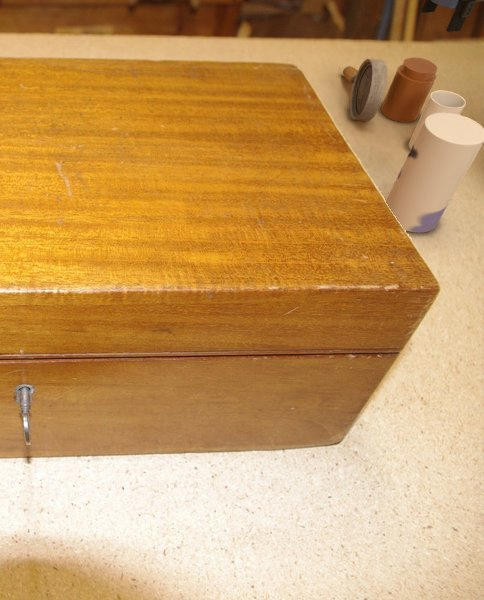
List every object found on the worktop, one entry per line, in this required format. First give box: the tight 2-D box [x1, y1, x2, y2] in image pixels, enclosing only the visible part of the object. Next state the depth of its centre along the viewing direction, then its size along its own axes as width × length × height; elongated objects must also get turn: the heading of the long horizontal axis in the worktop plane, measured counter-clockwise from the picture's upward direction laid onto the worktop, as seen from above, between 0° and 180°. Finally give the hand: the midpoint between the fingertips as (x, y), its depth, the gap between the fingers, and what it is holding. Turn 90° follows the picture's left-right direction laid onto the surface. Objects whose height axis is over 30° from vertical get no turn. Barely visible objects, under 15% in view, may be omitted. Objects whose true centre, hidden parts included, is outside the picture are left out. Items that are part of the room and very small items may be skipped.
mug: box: [408, 89, 467, 151], centre depth 148 cm, size 10×7×12 cm, turn 166°
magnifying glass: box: [342, 58, 388, 122], centre depth 160 cm, size 13×3×25 cm
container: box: [385, 113, 484, 233], centre depth 128 cm, size 10×10×20 cm
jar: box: [380, 57, 438, 123], centre depth 157 cm, size 8×8×12 cm
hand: (440, 20), depth 145 cm, fingers closed on lid, 8 cm apart
